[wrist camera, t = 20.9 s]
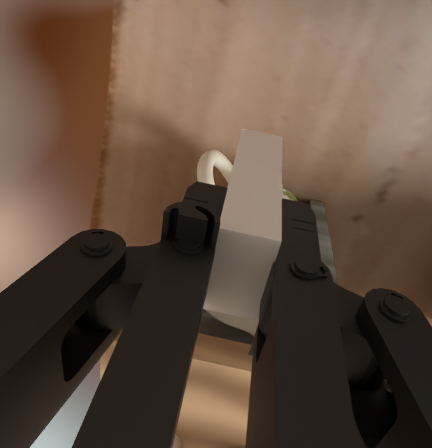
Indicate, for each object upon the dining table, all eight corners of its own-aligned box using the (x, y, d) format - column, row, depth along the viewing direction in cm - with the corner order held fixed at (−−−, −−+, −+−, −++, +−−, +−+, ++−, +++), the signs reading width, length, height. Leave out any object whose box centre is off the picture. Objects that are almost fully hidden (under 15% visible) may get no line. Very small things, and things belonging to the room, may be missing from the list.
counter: (179, 171, 43) (100, 337, 24) (323, 202, 43) (357, 395, 24) (166, 278, 52) (100, 460, 33) (285, 304, 52) (287, 503, 33)
